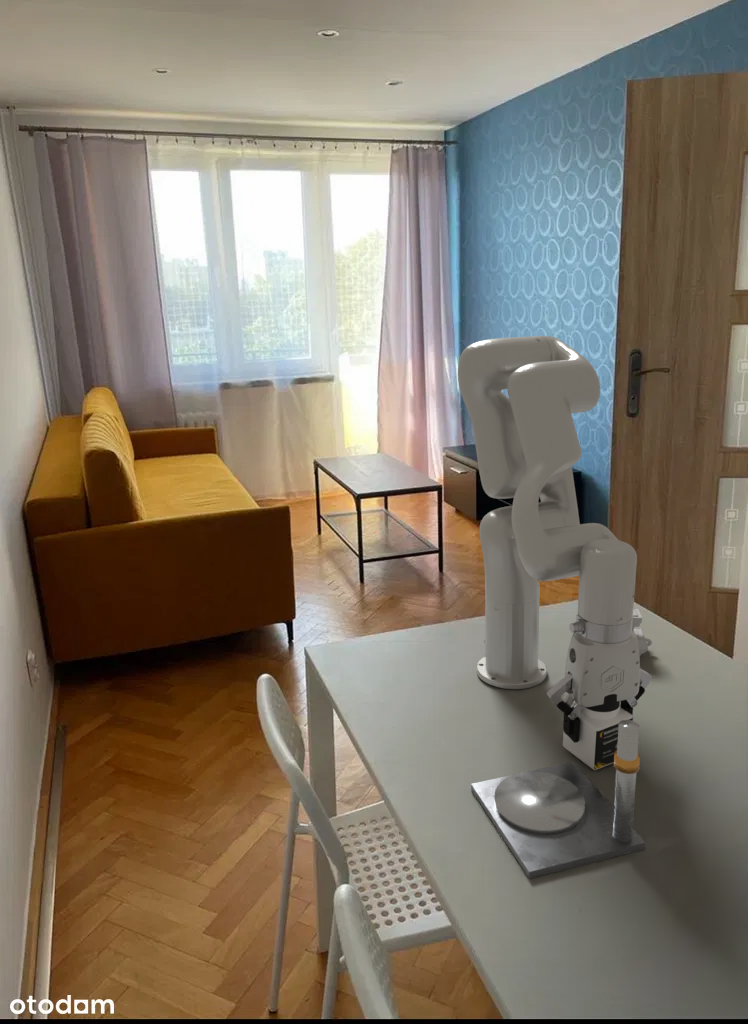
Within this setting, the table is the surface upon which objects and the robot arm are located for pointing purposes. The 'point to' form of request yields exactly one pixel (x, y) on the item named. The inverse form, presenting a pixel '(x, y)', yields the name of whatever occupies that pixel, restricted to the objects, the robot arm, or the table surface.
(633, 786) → the base plate with post
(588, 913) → the table surface
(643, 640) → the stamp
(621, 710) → the medicine bottle
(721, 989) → the table surface
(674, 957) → the table surface
